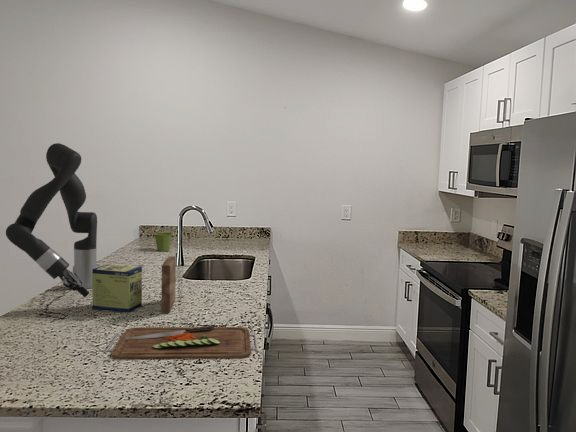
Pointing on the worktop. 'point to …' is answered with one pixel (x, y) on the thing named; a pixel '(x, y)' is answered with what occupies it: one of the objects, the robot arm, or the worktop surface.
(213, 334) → the chopping board
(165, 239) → the plant pot
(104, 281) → the protein box
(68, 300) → the worktop surface
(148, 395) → the worktop surface
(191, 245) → the worktop surface
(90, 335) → the worktop surface
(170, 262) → the board
